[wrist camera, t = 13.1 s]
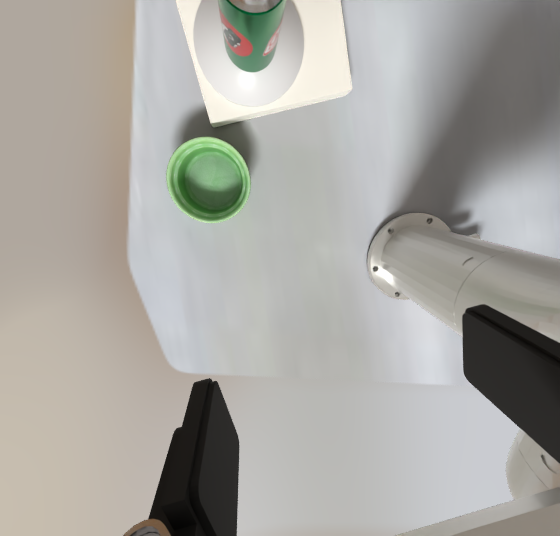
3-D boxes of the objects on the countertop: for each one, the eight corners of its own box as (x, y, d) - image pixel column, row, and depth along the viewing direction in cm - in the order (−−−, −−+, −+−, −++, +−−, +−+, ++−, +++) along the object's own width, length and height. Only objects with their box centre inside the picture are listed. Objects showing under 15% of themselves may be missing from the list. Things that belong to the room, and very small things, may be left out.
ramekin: (191, 127, 32) (182, 119, 28) (262, 163, 34) (264, 160, 30) (165, 199, 34) (154, 202, 30) (234, 229, 36) (232, 235, 32)
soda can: (272, 78, 29) (288, 13, 18) (223, 69, 28) (207, -5, 17) (278, 20, 28) (300, -92, 16) (226, 8, 27) (212, -118, 15)
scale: (325, -40, 29) (339, -78, 25) (344, 96, 33) (359, 83, 29) (175, -6, 29) (163, -39, 24) (213, 127, 33) (208, 119, 28)
